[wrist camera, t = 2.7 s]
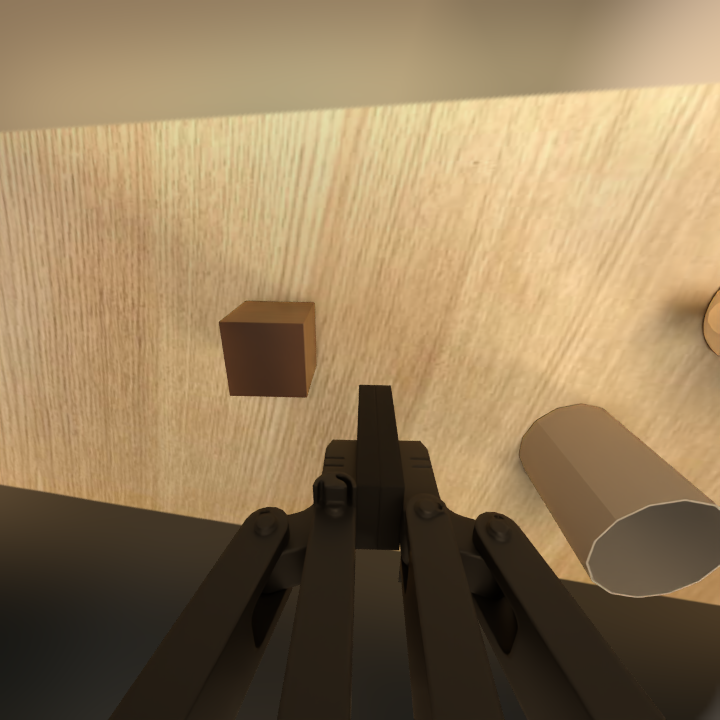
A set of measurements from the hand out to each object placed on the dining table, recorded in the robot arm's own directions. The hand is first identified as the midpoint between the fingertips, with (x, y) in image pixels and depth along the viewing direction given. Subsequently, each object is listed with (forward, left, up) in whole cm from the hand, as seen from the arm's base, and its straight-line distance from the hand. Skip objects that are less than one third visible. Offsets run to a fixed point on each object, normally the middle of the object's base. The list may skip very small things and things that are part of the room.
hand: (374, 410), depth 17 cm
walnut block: (+5, -4, -10) cm, 12 cm away
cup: (-10, +17, -10) cm, 22 cm away
